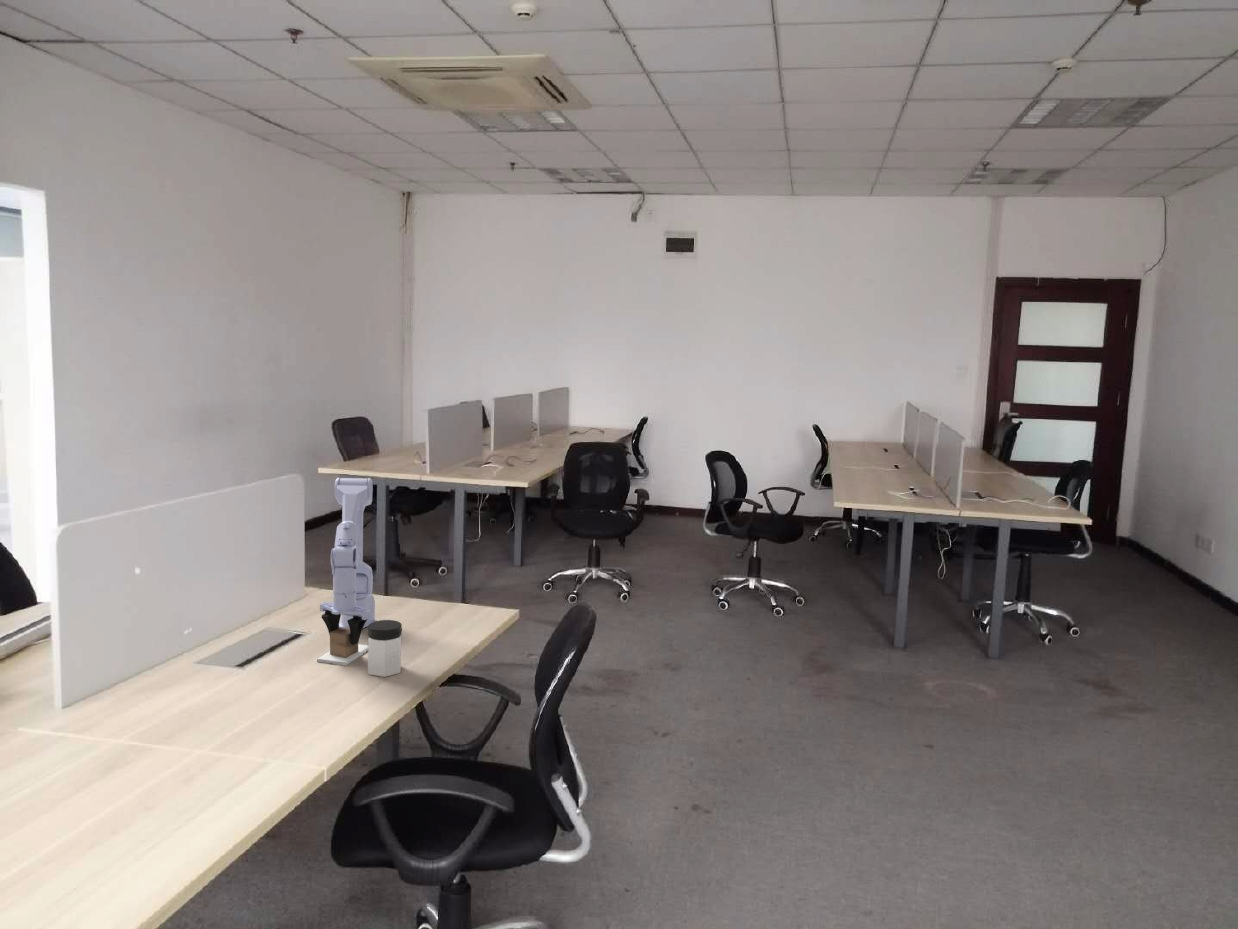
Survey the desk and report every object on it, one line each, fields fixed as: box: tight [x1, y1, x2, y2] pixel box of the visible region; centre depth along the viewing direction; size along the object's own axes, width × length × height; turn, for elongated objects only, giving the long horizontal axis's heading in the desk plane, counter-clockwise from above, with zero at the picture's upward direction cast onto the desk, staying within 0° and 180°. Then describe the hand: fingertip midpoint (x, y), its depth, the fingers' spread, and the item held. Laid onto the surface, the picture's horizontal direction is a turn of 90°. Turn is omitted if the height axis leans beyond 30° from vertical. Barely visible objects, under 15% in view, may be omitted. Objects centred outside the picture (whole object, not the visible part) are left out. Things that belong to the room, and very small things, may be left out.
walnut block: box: [329, 627, 359, 658], centre depth 218 cm, size 5×5×6 cm
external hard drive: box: [316, 643, 368, 667], centre depth 220 cm, size 2×8×12 cm
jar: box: [367, 619, 403, 678], centre depth 210 cm, size 9×8×12 cm
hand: (344, 641), depth 218 cm, fingers open, 6 cm apart
